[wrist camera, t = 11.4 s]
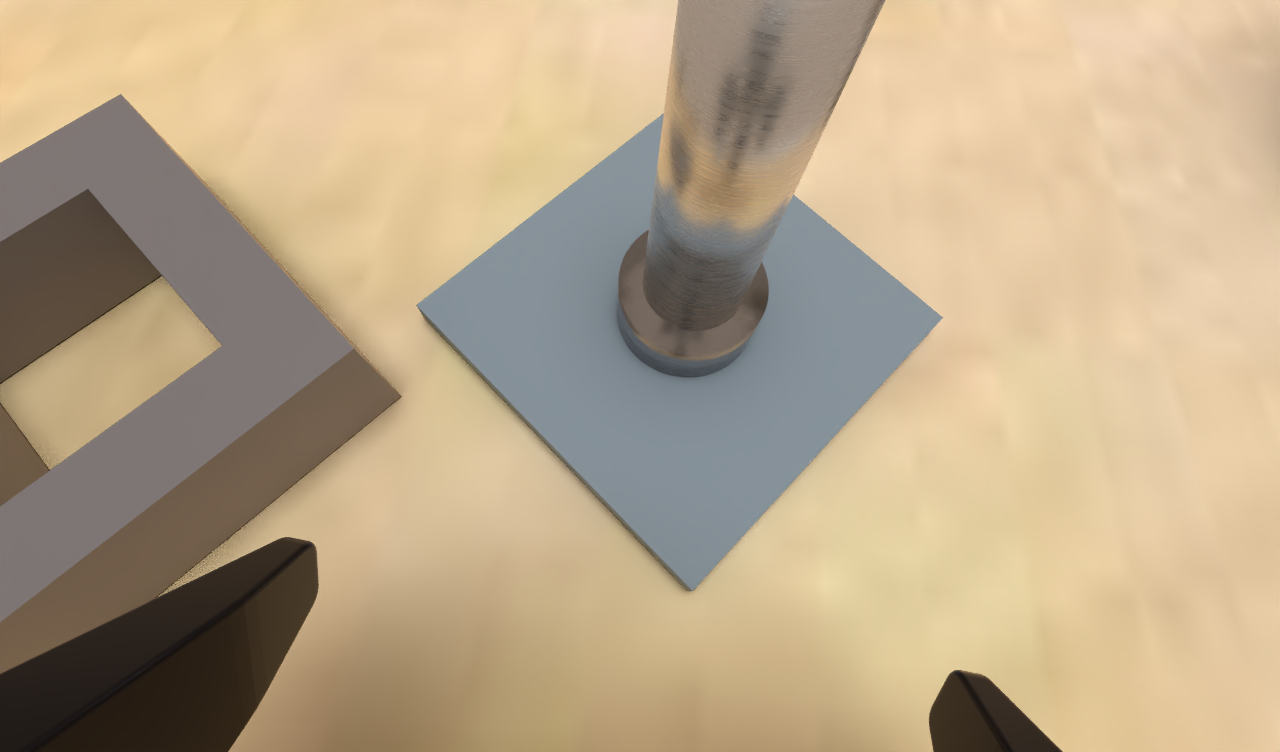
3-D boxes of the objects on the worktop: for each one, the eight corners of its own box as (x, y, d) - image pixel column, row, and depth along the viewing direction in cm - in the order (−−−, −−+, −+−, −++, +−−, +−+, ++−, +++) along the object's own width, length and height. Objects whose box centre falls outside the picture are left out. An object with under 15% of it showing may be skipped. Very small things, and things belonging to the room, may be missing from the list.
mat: (928, 330, 22) (942, 317, 21) (688, 591, 18) (692, 590, 17) (676, 120, 24) (679, 101, 23) (424, 318, 21) (416, 305, 20)
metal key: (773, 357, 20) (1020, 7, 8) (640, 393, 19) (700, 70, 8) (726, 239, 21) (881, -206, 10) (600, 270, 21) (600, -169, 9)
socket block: (401, 396, 20) (354, 348, 16) (67, 668, 17) (-86, 688, 13) (202, 180, 22) (120, 94, 18) (-124, 387, 19) (-302, 335, 15)
